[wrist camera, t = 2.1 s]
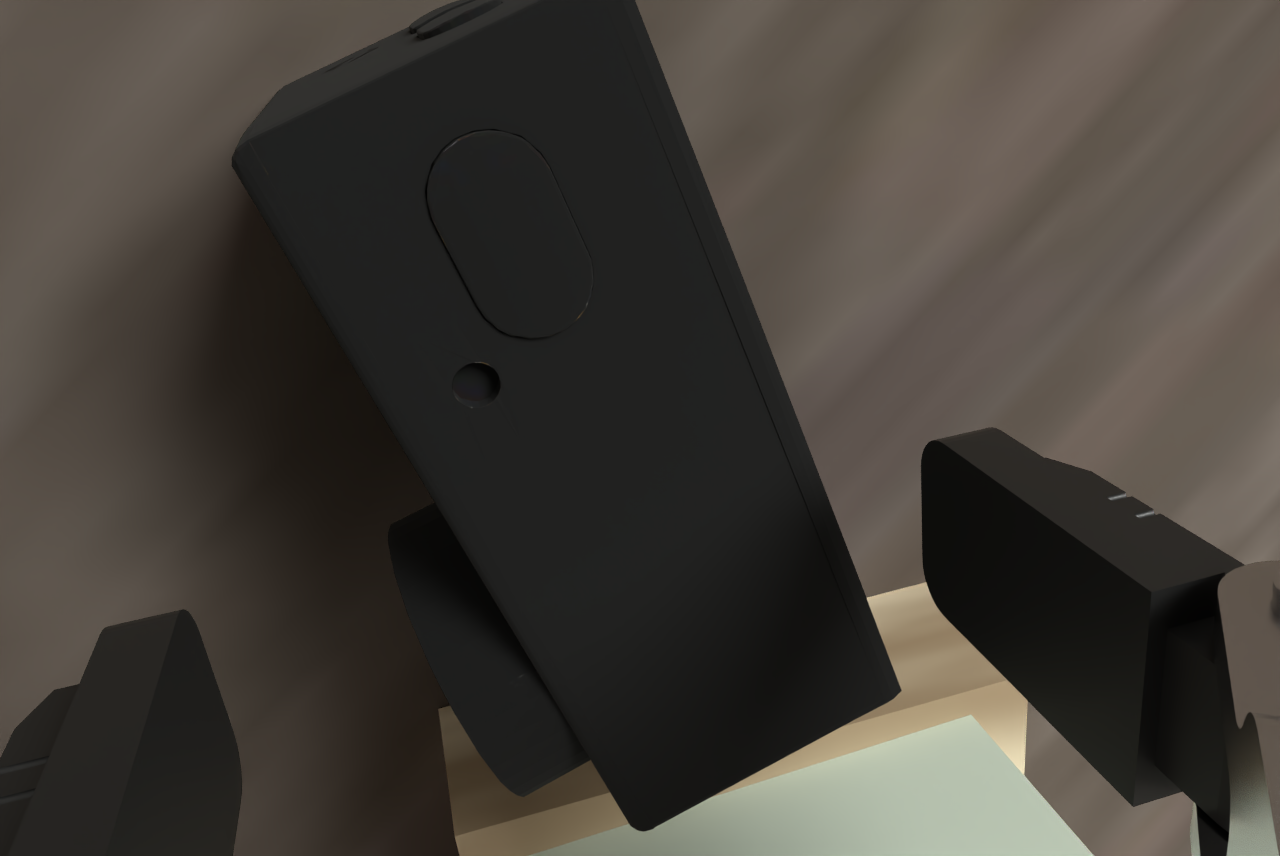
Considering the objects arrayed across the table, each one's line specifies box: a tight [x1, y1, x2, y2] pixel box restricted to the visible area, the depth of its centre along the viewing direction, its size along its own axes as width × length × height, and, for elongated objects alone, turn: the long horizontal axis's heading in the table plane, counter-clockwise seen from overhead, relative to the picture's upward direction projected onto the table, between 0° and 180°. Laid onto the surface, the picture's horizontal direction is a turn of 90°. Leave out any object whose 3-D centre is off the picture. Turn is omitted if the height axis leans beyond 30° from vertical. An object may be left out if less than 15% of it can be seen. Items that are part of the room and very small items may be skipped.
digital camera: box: [232, 0, 902, 832], centre depth 15 cm, size 10×5×7 cm, turn 23°
